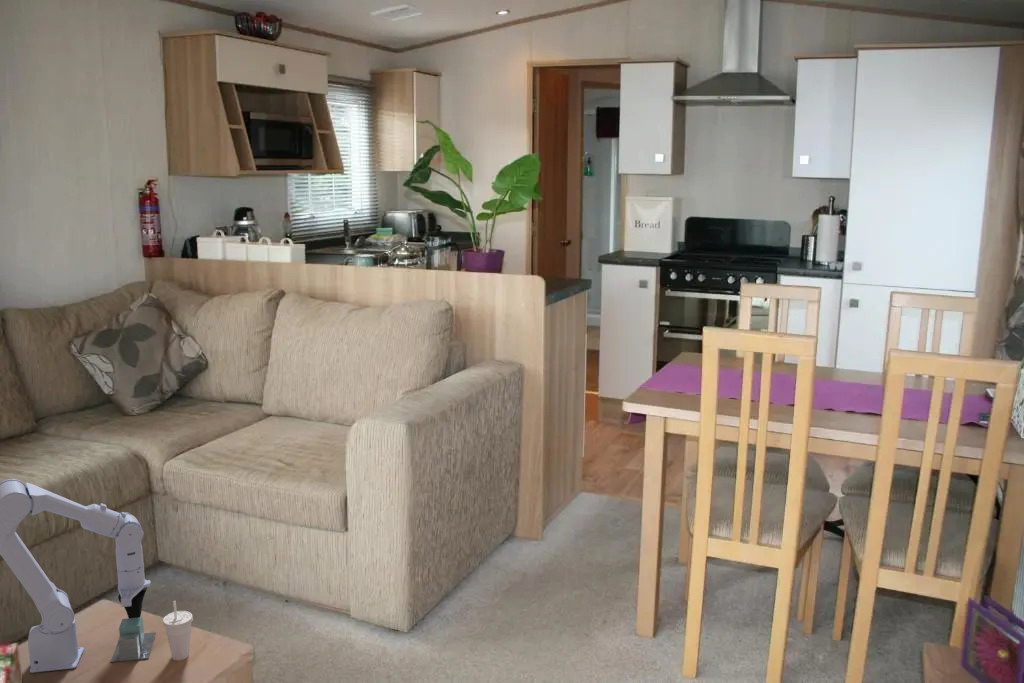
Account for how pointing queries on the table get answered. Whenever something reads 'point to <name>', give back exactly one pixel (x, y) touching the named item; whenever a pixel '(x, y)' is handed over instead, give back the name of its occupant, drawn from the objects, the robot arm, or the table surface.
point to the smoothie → (178, 632)
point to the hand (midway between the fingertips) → (135, 619)
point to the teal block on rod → (132, 627)
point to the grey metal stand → (133, 647)
